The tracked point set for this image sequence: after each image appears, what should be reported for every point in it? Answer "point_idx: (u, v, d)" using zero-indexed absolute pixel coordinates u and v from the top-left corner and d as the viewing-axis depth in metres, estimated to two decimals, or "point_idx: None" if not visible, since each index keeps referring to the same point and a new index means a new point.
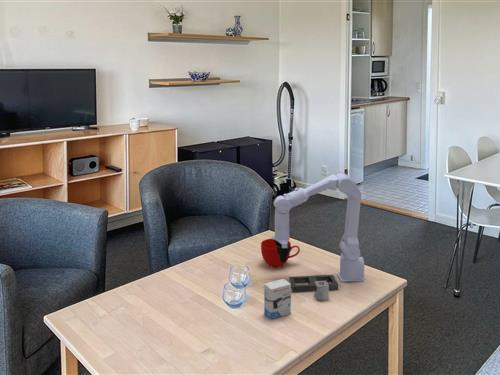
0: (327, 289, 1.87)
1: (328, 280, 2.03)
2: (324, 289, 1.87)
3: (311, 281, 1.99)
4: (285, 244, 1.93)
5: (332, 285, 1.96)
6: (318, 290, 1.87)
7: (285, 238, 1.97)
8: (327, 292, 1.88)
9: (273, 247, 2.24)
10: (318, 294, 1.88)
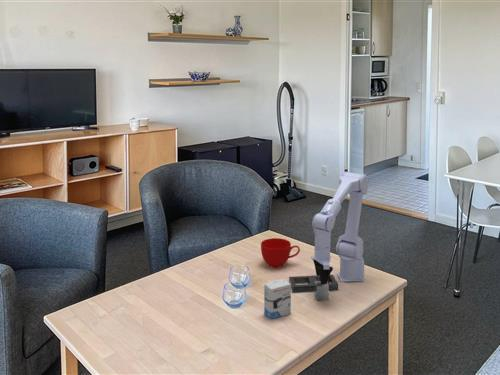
0: (327, 289, 1.87)
1: (328, 280, 2.03)
2: (324, 289, 1.87)
3: (311, 281, 1.99)
4: (327, 265, 1.79)
5: (332, 285, 1.96)
6: (318, 290, 1.87)
7: (326, 258, 1.83)
8: (327, 292, 1.88)
9: (273, 247, 2.24)
10: (318, 294, 1.88)
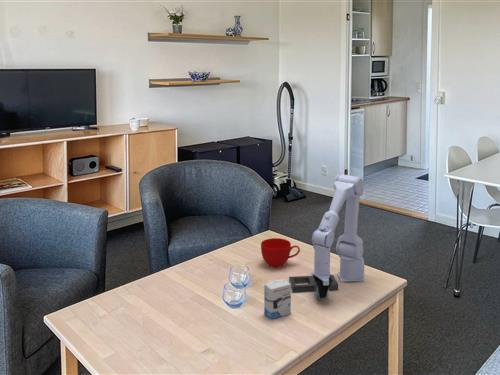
0: None
1: None
2: None
3: (311, 281, 1.99)
4: (327, 281, 1.81)
5: (332, 285, 1.96)
6: (318, 290, 1.87)
7: (326, 274, 1.85)
8: (327, 292, 1.88)
9: (273, 247, 2.24)
10: (318, 294, 1.87)
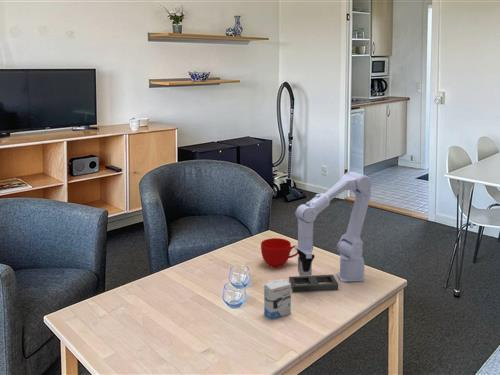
0: None
1: (328, 280, 2.03)
2: None
3: (311, 281, 1.99)
4: (310, 254, 1.87)
5: (332, 285, 1.96)
6: (301, 265, 1.93)
7: (309, 248, 1.91)
8: (310, 267, 1.94)
9: (273, 247, 2.24)
10: (301, 269, 1.94)
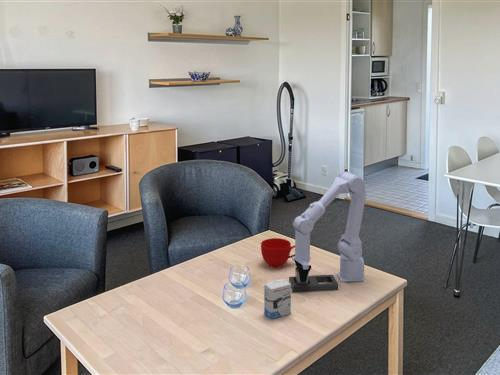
0: None
1: (328, 280, 2.03)
2: None
3: (311, 281, 1.99)
4: (306, 265, 1.90)
5: (332, 285, 1.96)
6: (298, 275, 1.96)
7: (306, 259, 1.94)
8: (307, 277, 1.96)
9: (273, 247, 2.24)
10: (298, 279, 1.96)
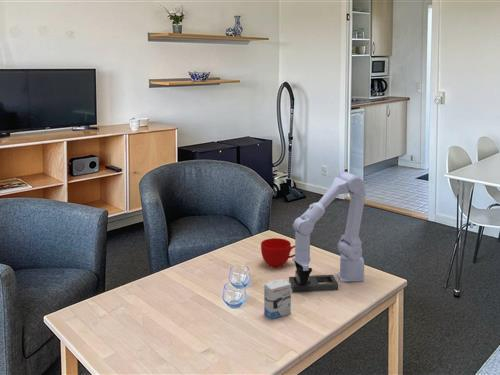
0: None
1: (328, 280, 2.03)
2: None
3: (311, 281, 1.99)
4: (306, 266, 1.90)
5: (332, 285, 1.96)
6: (299, 279, 1.96)
7: (306, 260, 1.94)
8: None
9: (273, 247, 2.24)
10: (299, 283, 1.97)
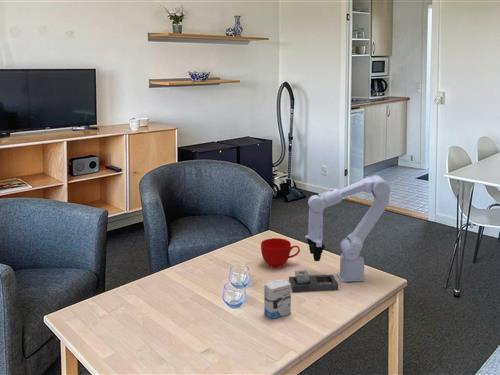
0: (307, 278, 1.97)
1: (328, 280, 2.03)
2: (305, 278, 1.96)
3: (311, 281, 1.99)
4: (320, 243, 1.95)
5: (332, 285, 1.96)
6: (299, 279, 1.96)
7: (319, 237, 1.99)
8: (307, 281, 1.97)
9: (273, 247, 2.24)
10: (299, 283, 1.97)
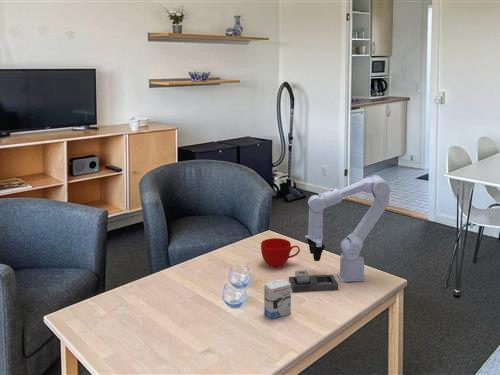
0: (307, 278, 1.97)
1: (328, 280, 2.03)
2: (305, 278, 1.96)
3: (311, 281, 1.99)
4: (320, 243, 1.95)
5: (332, 285, 1.96)
6: (299, 279, 1.96)
7: (319, 237, 1.99)
8: (307, 281, 1.97)
9: (273, 247, 2.24)
10: (299, 283, 1.97)
